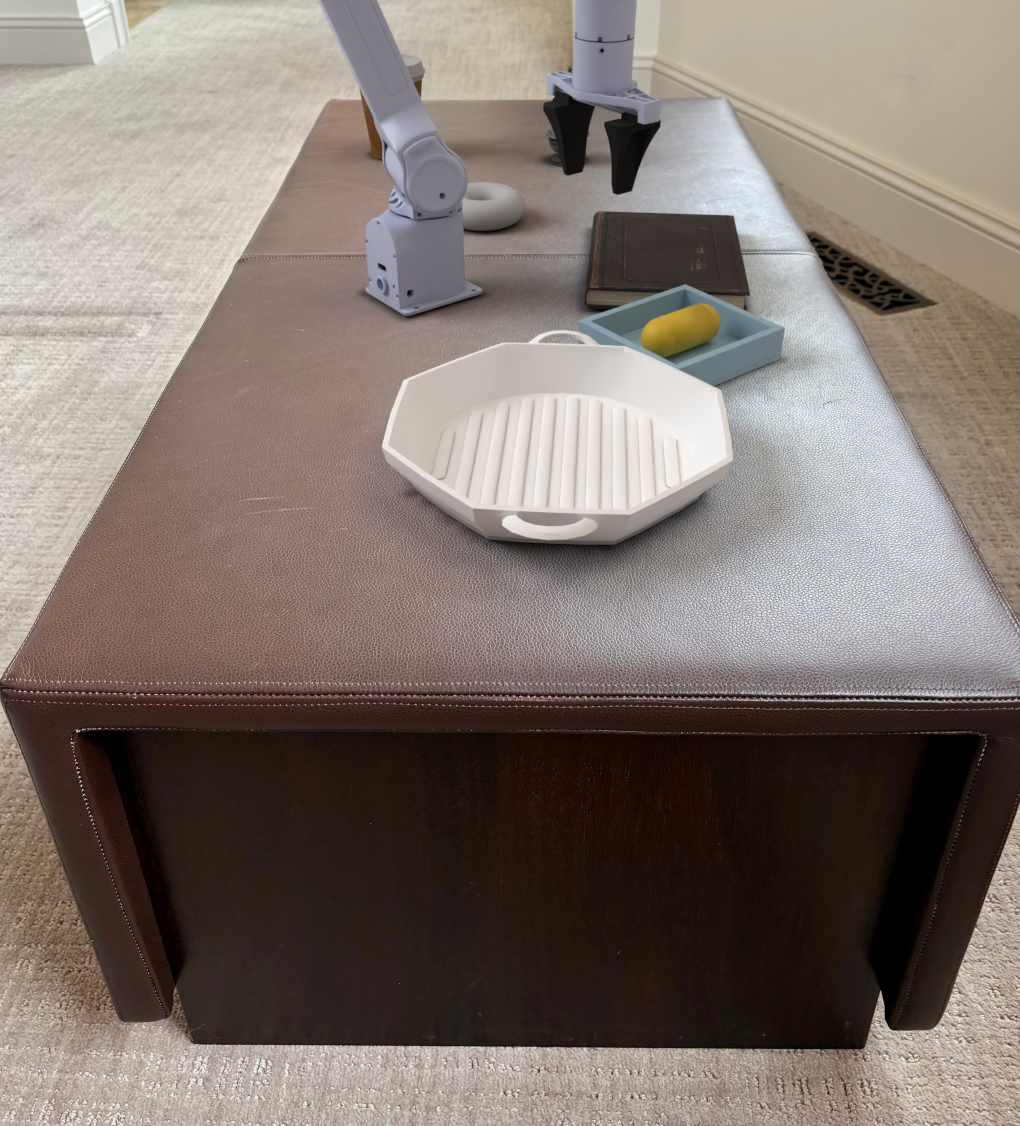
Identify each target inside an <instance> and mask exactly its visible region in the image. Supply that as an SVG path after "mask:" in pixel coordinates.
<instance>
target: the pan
mask: <svg viewBox="0 0 1020 1126" xmlns="http://www.w3.org/2000/svg"><path fill="white" fill-rule="evenodd" d="M553 338H571V339H575V340H577V341H578V340H580V341H583V342H584V343H585V344H578V343H557V342H553V343H551V342H545V341H548V340H551V339H553ZM724 400H725V399H724V397H723V392H722V390H721V389H719V388H717V387H715V386H711V385H709V384H707V383H705V382H703V381H701V380H699V379H697V378H695V377H693V376H691V375H689V374H686V373H684V372H682V371H680V370H678V369H676V368H673V367H671V366H669V365H667V364H665V363H663V362H661V361H658V360H656V359H654V358H652V357H650V356H647V355H645V354H643V353H640V352H638V351H636V350H634V349H631V348H629V347H627V346H611V345H599V344H598V343H597V342H596V341H595V340H593V339H592V338H591V337H590V336H588V335H585V334H582V333H580V332H579V331H574V330H567V329H561V330H560V329H559V330H550V331H546V332H543V333H539V334H538V335H536V336H535V337H534V338H532V339H531V340H530V341H528V342H501V343H498V344H494V345H492V346H489V347H486V348H483V349H480V350H477V351H475V352H471V353H469V354H467V355H463V356H461V357H458V358H456V359H453V360H450V361H447V362H445V363H443V364H440V365H438V366H435V367H433V368H429V369H427V370H425V371H422V372H420V373H418V374H415V375H413V376H410V377H408V378H405V379H403V380H402V383H401V386H400V388H399V391H398V393H397V396H396V398H395V400H394V403H393V406H392V409H391V411H390V414H389V418H388V422H387V424H386V428H385V433H384V437H383V440H382V444H381V449H382V453H383V456H384V458H385V461H386V463H387V464H388V465H389V466H391V467H392V468H393V469H394V470H395V471H396V472H398V473H399V474H400V475H401V476H402V477H403V478H405V479H406V480H407V481H408V482H409V483H411V484H412V488H413V489H414V490H416V491H417V492H418V493H419V494H421V495H422V496H423V497H424V498H426V499H427V500H428V501H429V502H430V503H432V504H433V505H435V506H436V507H437V508H439V509H440V510H442V511H443V512H444V513H445V514H447V515H448V516H450V517H452V518H453V519H455V520H456V521H457V522H458V523H460V524H462V525H464V526H465V527H467V528H468V529H470V530H472V531H474V532H475V533H477V534H478V535H480V536H482V537H484V538H485V539H487V540H492V541H493V540H494V541H505V542H516V543H533V544H534V543H535V544H554V545H556V544H557V545H595V546H596V545H607V546H608V545H611V546H612V545H613V546H615V545H617V544H619V543H621V542H623V541H625V540H627V539H630V538H631V537H634V536H636V535H638V534H640V533H642V532H644V531H646V530H648V529H649V528H651V527H653V526H655V525H657V524H658V523H660V522H662V521H664V520H666V519H668V518H670V517H672V516H673V515H675V514H677V513H679V512H680V511H682V510H684V509H685V508H687V507H689V506H690V505H691V504H693V503H694V502H696V501H697V500H699V499H700V497H701V495H703V494H704V493H705V492H706V491H708V490H709V489H711V488H712V487H713V486H715V485H716V484H717V483H718V482H720V481H721V480H722V479H724V478H725V477H727V476H728V475H729V472H730V469H731V467H732V465H733V463H734V452H733V443H732V437H731V431H730V427H729V420H728V415H727V408H726V403H725V401H724Z"/></svg>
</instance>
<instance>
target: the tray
mask: <svg viewBox="0 0 1020 1126" xmlns="http://www.w3.org/2000/svg"><path fill="white" fill-rule="evenodd" d="M699 303H702V304H708V305H710V306H712V307H713V308H714V309H715V310H716V311H717V312H718V314H719V316H720V321H721V323H720V329H719V332H718V333H717V335H716V336H715V337H714V338H713V339H712V340H710V341H708V342H706V343H703V344H701V345H698V346H695V347H693V348H690V349H688V350H685V351H682V352H680V353H677V354H674V355H672V356H669V357H666V358H662V357H660V356H658V355H656V354H654V353H652V352H650V351H649V350H647V349H645V348H643V346H642V343H641V334H642V331H643V329H644V327H645V325H646V324H647V323H648V322H649V321H651V320H653V319H655V318H658V317H661V316H664V315H666V314H669V313H672V312H675V311H678V310H681V309H683V308H686V307H689V306H692V305H695V304H699ZM785 330H786V328H785V327H784V326H782V325H780V324H777V323H775V322H773V321H771V320H768V319H766V318H764V317H762V316H758V315H756V314H754V313H752V312H750V311H748V310H747V311H745V310H743V309H741V308H738V307H736V306H734V305H732V304H729V303H727V302H725V301H722V300H720V299H718V298H716V297H713V296H711V295H709V294H707V293H704V292H702V291H700V290H697V289H695V288H693V287H691V286H688V285H686V284H685V285H682V286H679V287H676V288H673V289H670V290H667V291H664V292H661V293H658V294H655V295H652V296H649V297H646V298H644V299H641V300H638V301H635V302H632V303H629V304H626V305H623V306H620V307H617V308H614V309H611V310H605V311H602V312H599V313H596V314H593V315H591V316H588V317H587V316H586V317H584V318H582V319H579V320H578V332H580V333H582V334H585V335H588V336H590V337H591V338H592V339H593V340H595V341H596V342H597V343H598V344H599V345H611V346H627V347H629V348H631V349H634V350H636V351H638V352H640V353H643V354H645V355H647V356H650V357H652V358H654V359H656V360H658V361H661V362H663V363H665V364H667V365H669V366H671V367H673V368H676V369H678V370H680V371H682V372H684V373H686V374H689V375H691V376H693V377H695V378H697V379H699V380H701V381H703V382H705V383H707V384H709V385H711V386H713V387H715V386H718V385H720V384H723V383H725V382H727V381H730V380H733V379H734V378H735V379H736V378H737V377H739V376H742V375H745V374H747V373H750V372H752V371H755V370H756V369H759V368H761V367H764V366H766V365H769V364H771V363H774V362H777V361H779V360H780V359H781V353H782V350H783V349H782V348H783V343H784V336H785ZM577 344H585V343H584V342H583V341H580V340H578V339H577Z"/></svg>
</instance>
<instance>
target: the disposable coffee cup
mask: <svg viewBox="0 0 1020 1126" xmlns="http://www.w3.org/2000/svg"><path fill="white" fill-rule="evenodd" d="M401 55H402V58H403V60H404V62H405V64H406V67H407V69H408V71H409V73H410V76H411V78H412V80H413V82H414V85H415V87H416V89H417V92H418V94H419V96H420V98H421V99H422V90H423V89H422V87H423V79H424V77H425V74H426V69H425V67H424V66H423V61H422V58H420V57H419V56H416V55H412V54H407V53H401ZM358 88H359V87H358ZM359 93H360V98H361V104H362V109H363V113H364V119H365V125H366V130H367V133H368V139H369V144H370V149H371V154H372V156H373V157H374V158H375V159H379V160H383V159H382V157H383V146H382V141H381V138H380V136H379V134H378V131H377V129H376V127H375V123H374V119H373V116H372V113H371V111H370V109H369V107H368V105H367V103H366V101H365V99H364V97H363V95H362V92H361V90H360V88H359Z"/></svg>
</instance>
